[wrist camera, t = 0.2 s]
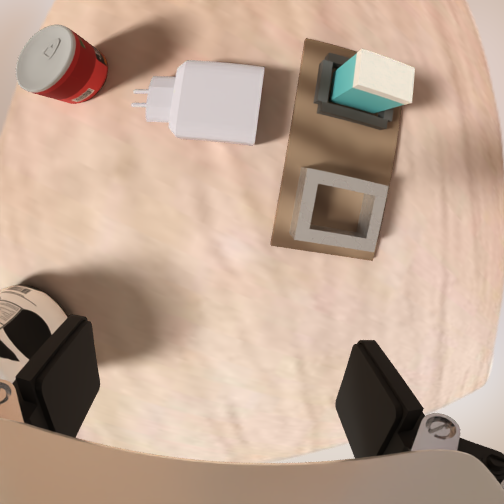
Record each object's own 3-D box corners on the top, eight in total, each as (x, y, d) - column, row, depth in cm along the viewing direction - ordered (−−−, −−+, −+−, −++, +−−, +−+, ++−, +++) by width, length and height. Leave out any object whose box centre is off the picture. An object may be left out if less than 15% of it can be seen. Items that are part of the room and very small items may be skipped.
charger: (144, 68, 35) (262, 75, 36) (133, 136, 37) (252, 146, 38) (133, 57, 30) (265, 65, 31) (121, 133, 32) (255, 144, 34)
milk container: (45, 383, 46) (2, 448, 29) (-12, 306, 42) (-74, 355, 24) (105, 350, 45) (60, 429, 27) (39, 257, 40) (-39, 306, 23)
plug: (332, 72, 35) (362, 48, 25) (376, 85, 35) (414, 68, 26) (328, 101, 36) (357, 84, 26) (373, 113, 36) (411, 102, 27)
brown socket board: (304, 40, 34) (309, 32, 31) (401, 70, 36) (412, 65, 33) (270, 243, 41) (273, 249, 38) (369, 258, 43) (378, 265, 40)
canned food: (119, 57, 34) (85, 29, 23) (93, 111, 35) (51, 99, 25) (76, 45, 32) (36, 20, 22) (51, 97, 34) (5, 84, 24)
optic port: (301, 167, 38) (307, 167, 35) (376, 183, 39) (388, 186, 36) (289, 233, 40) (294, 239, 37) (363, 245, 41) (374, 252, 38)
